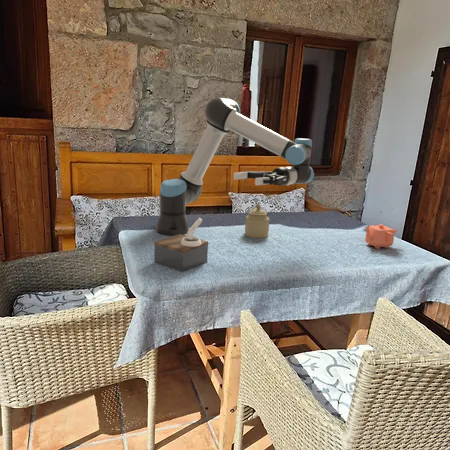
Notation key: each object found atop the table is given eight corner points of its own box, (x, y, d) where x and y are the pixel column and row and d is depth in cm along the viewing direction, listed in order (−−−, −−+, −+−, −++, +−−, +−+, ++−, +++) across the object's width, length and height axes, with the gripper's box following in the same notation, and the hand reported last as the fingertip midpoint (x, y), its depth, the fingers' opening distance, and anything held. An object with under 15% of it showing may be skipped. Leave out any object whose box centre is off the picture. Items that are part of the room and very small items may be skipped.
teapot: (368, 240, 199) (371, 219, 196) (394, 245, 193) (398, 223, 190) (361, 247, 187) (364, 225, 184) (389, 253, 181) (392, 230, 178)
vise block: (154, 262, 156) (154, 241, 154) (179, 253, 167) (179, 233, 165) (182, 271, 148) (183, 250, 146) (207, 261, 160) (208, 241, 157)
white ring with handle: (215, 233, 149) (200, 223, 147) (194, 257, 153) (179, 247, 150) (213, 223, 156) (198, 214, 153) (193, 246, 160) (178, 237, 157)
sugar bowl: (235, 230, 202) (237, 200, 198) (254, 228, 208) (256, 198, 204) (253, 239, 190) (255, 207, 186) (272, 236, 196) (275, 205, 192)
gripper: (304, 190, 170) (264, 194, 157) (263, 180, 189) (225, 182, 177) (306, 171, 168) (266, 174, 155) (265, 163, 187) (226, 165, 175)
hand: (244, 178), depth 166 cm, fingers open, 13 cm apart
